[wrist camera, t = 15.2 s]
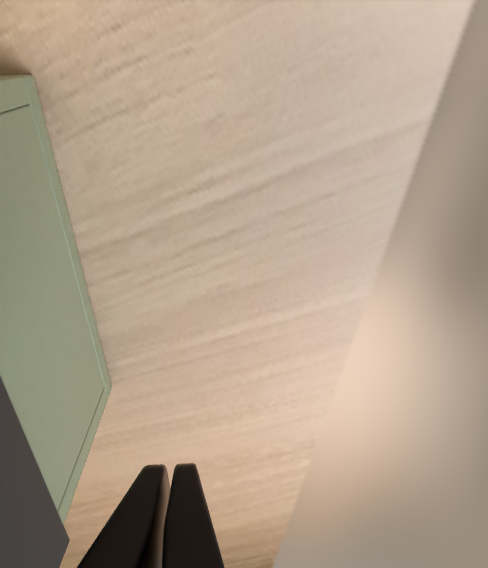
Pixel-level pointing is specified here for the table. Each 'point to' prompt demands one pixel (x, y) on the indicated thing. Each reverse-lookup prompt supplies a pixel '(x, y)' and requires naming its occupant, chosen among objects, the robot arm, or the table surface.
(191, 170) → the table surface
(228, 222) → the table surface
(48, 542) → the box lid
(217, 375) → the table surface
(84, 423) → the open box
